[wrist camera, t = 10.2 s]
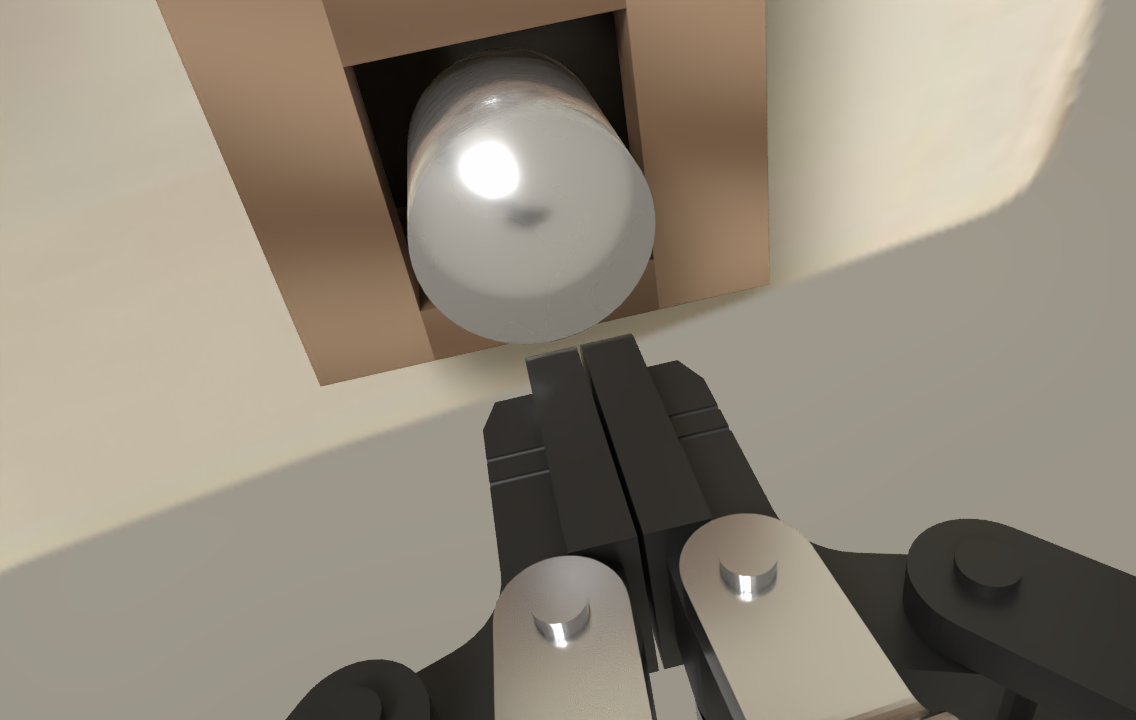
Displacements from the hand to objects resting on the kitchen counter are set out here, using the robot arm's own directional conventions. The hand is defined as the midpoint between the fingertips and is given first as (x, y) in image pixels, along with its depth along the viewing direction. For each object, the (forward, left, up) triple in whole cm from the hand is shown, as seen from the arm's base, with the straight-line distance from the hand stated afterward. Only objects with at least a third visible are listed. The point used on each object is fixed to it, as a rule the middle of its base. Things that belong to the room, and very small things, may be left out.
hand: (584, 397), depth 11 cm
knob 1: (0, 0, -10) cm, 10 cm away
